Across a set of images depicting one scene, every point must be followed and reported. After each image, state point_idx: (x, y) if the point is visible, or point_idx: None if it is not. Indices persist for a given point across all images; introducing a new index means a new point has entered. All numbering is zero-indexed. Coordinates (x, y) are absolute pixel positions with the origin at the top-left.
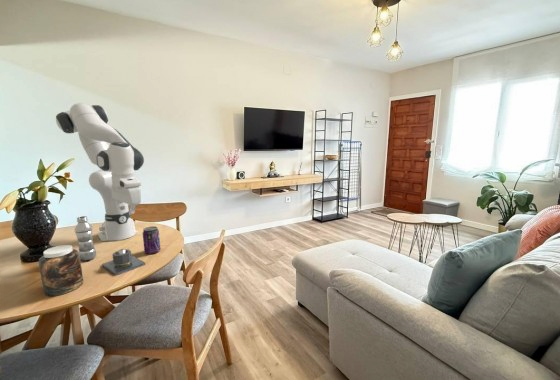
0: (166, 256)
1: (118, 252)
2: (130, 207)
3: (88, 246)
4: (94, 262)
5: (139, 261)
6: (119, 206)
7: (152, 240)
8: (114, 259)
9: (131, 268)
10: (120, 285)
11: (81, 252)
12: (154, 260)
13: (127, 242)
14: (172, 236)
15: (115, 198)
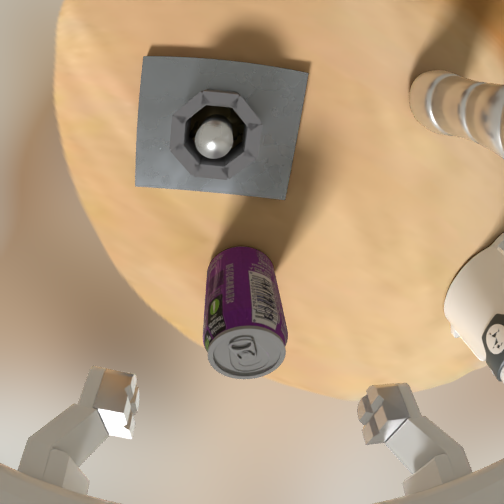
0: (143, 271)
1: (247, 132)
2: (38, 433)
3: (447, 99)
4: (376, 85)
5: (167, 177)
6: (411, 414)
7: (207, 301)
8: (219, 91)
9: (138, 123)
10: (56, 42)
11: (447, 74)
12: (146, 225)
13: (423, 272)
14: (305, 375)
15: (484, 485)
